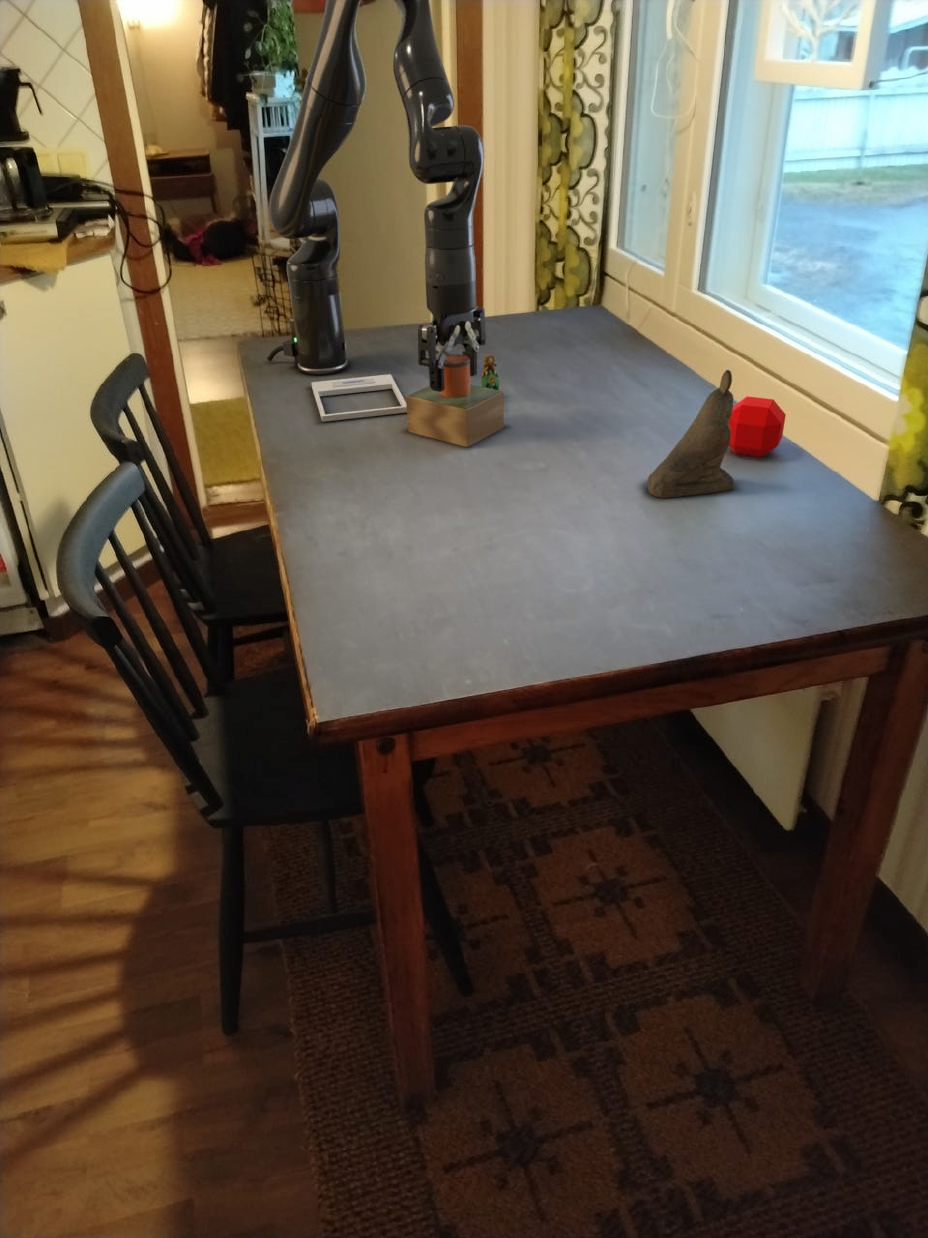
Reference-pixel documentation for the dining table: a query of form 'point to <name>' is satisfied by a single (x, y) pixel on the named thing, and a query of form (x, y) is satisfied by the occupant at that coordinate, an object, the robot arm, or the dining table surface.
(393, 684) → the dining table surface
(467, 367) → the orange tin
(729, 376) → the brown carved statuette
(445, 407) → the riser block
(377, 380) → the photo frame
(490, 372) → the figurine
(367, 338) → the dining table surface
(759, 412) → the ball
